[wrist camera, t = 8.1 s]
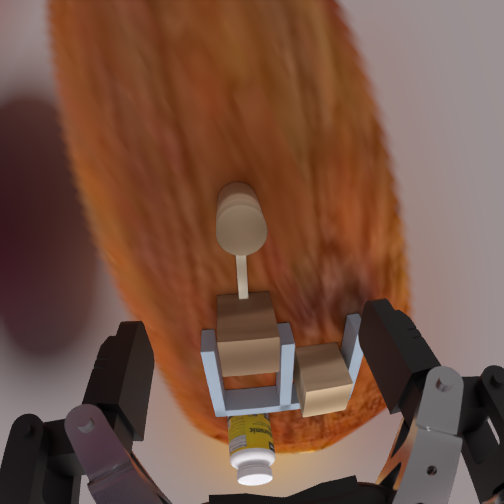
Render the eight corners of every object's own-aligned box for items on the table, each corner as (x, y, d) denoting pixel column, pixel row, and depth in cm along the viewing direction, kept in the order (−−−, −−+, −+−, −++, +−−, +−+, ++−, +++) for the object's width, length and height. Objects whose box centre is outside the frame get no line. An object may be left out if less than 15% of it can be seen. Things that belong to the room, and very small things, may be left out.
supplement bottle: (276, 414, 37) (288, 478, 29) (246, 429, 39) (252, 490, 30) (250, 399, 35) (258, 469, 26) (218, 415, 36) (221, 481, 28)
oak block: (294, 347, 31) (306, 391, 26) (336, 341, 32) (353, 383, 26) (292, 375, 34) (302, 417, 28) (330, 369, 34) (345, 409, 29)
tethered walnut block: (205, 184, 23) (199, 211, 17) (266, 180, 23) (280, 206, 18) (221, 329, 29) (222, 376, 24) (269, 325, 30) (279, 371, 24)
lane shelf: (201, 330, 29) (200, 352, 26) (358, 313, 30) (368, 332, 27) (215, 396, 34) (216, 416, 32) (342, 381, 35) (349, 399, 33)
